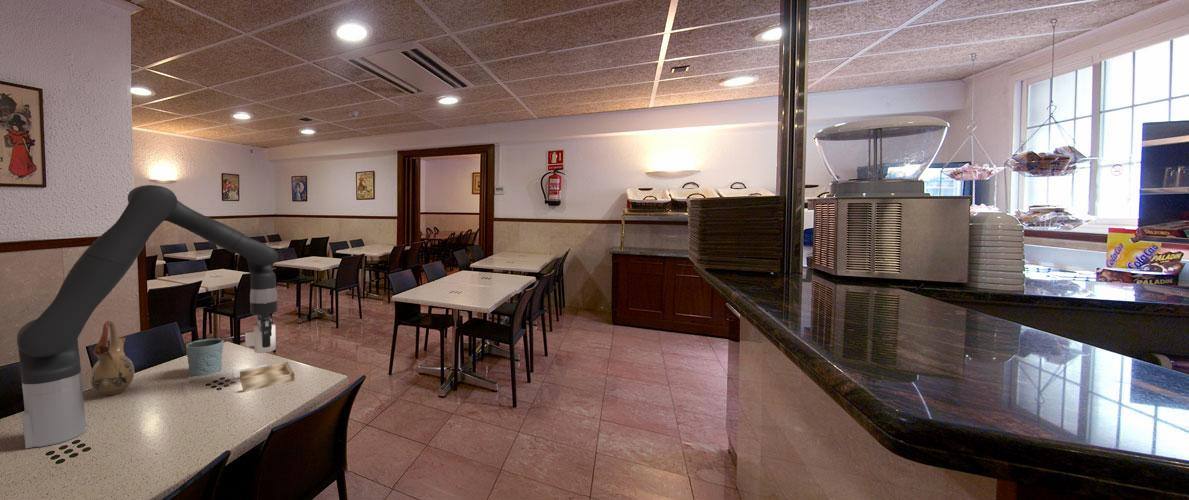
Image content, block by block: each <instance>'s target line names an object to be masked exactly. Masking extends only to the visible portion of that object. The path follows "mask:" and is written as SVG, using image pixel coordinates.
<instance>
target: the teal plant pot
mask: <svg viewBox="0 0 1189 500" xmlns="http://www.w3.org/2000/svg"><path fill="white" fill-rule="evenodd" d="M223 349H224V339H222V338H207V339H198V340H194V341H191V342H189V343H187V344H185V350H186V357H187V364H188V373H189V376H190V377H191V378H192V377H193V378H194V377H203V376H208V375H212V374H216V373H219V372H221V371H222V366H223V362H222V359H223Z"/></svg>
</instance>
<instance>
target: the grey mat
mask: <svg viewBox="0 0 1189 500" xmlns="http://www.w3.org/2000/svg"><path fill="white" fill-rule="evenodd" d="M266 366H268V364H267V363H266V364H262V365H257V366H251V367H248V368H246V367H245V368H242V369H236V370H232V375H233V379H234V381H236V380H240V372H241V371H246V370H251V369H256V368H261V367H266Z"/></svg>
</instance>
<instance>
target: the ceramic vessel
mask: <svg viewBox="0 0 1189 500" xmlns="http://www.w3.org/2000/svg"><path fill="white" fill-rule="evenodd" d="M102 326H103V327H102V334H101V336H100V339H99V340H98V343H97V344H96V345H95V347H94V349H93V351H92V353H93V355H95V356H96V357H97V358H98V361H96V362H95V364H94V365H93V367H92V369H91V371H90V374H89V379H90V384H91V387H92V388H93V390H94V391H96V392H97V393H99V394H100V395H102V396H114V395H118V394H121V393H122V392H124V391H125V390H126V389H127V388H128V387H129V386H130V385H131V383H132V382H133V379H134V376H135V366H134V363H133V362H132V360H131V359H130V358H129V357H127V356H126V353H125V352H124V351H125V350H124V345H125V341H126V337H119V335H118V333H117V329H116V326H115V323H114V322H113V321H112V320H106V321H105V322H104V324H103V325H102Z"/></svg>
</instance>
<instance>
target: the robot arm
mask: <svg viewBox="0 0 1189 500" xmlns="http://www.w3.org/2000/svg"><path fill="white" fill-rule="evenodd" d="M164 221H166V222H168V223H172V224H174V225H175V226H178V227H180V228H183V229H185V230H187V231H189V232H191V233H193V234H195V235H197V236H199V237H200V238H202V239H204V240H206V241H208V242H210V243H212V244H214V245H215V246H218V247H220V248H221V249H224V250H226V251H228V252H231V253H233V254H236V255H240V256H242V257H243V258H245V259H246V261H247V262H246V263H247V266H248V271H249V274H250V293H249V306H250V307H249V308H250V310H249V311H250V314H251V315H253V316H257V317H256V322H257V326H259V331H260V332H261V334H262V336H261V337H262V347H263V348H265V347H270V337H271V335H272V334H271V330H272V324H273V317H272V316H271V314H275V313H277V312H278V306H279V305H278V292H277V278H276V273H275V272H274V271H273V264H275V263H276V262H277V261H278V259H279V254H278V252H277V250H276V249H274V248H273V247H271V246H269V245H267V244H265V243H264V242H263V243H262V242H260V241H259V240H256V239H254V238H251V237H249V236H248V235H246V234H244V233H242V231H241V232H240V231H238V230H237V229H235V228H233V227H231V226H229V225H227V224H225V223H223V222H220V221H218V220H216V219H213V218H211V217H209V216H206V215H205V214H202V213H200V212H198V211H195V210H194V209H192V208H190V207H189V206H187V205H186V204H184V203H182V202H181V201H179V200H178V198H177V196H176V194H175V193H174V192H173V191H172V190H171V189H169V188H167V187H165V186H160V185H155V184H146V185H140V186H137V187H134V188H133V189H131V190H130V191H129V193H128V194H127V206H126V207H125V209H124V210H123V212H122V213H121V215H120V216H119V218H118V219H117V221H116V222H115V223H114V224H113V225H111V227H110V228H108V229H107V230H106V231H105V232H103V233H102V234H101V235H100V236H98V238H96V239H95V240H94V241H93V242H92V243H91V244H90V245H89V246H88V247H87V248H86V249H85V250H84V252H83V253H82V254H81V256H79V258H78V259H77V261H76V262H75V263H74V264H73V266H72V267H71V269H70V270H69V271H68V273H67V275H66V277H65V279H64V280H63V282H62V284H61V286H60V288H59V290H58V292H57V295H56V296H55V297H54V299H53V301H51V303H50V305H48V307H47V308H46V309H45V310H44V311H43V312H42V313H41V315H39V316H38V317H37V318H36V319H34V320H30V321H29V322H27V323H25V324H24V325H23V326H22V327H21V328H20V329H19V330H18V333H17V336H16V345H17V348H18V358H19V369H20V370H19V371H20V378H21V388H22V395H23V406H24V411H23V413H22V414H21V417H22V419H21V420H22V427H23V437H24V446H25V449H29V448H30V449H31V448H38V447H39V448H42V447H46V446H51V445H52V446H53V445H56V444H60V443H63V442H66V441H69V440H72V439H75V438H77V437H80V436H81V435H82V434H84V433H85V432H86V431H87V421H86V420H87V419H86V412H85V411H86V410H85V399H84V390H83V389H84V388H83V377H82V366H81V358H80V352H79V351H80V349H79V341H78V338H79V337H80V335H81V333H82V331H83V329H84V328H85V325H87V322H88V320H89V319H90V317H91V315H92V314H93V312H94V311H95V310H96V308H97V307H99V305H100V304H101V303H102V302H103V300H105V299H106V298H107V296H108V295H109V294H110V293H111V292H112V291H113V289H114V288H115V287H116V286H117V285H118V284H119V282H120V281H121V280H122V279H123V278H124V276H126V274H127V272H128V271H129V270H130V269H131V267H132V266H133V264H134V263H135V261H136V260H137V258H138V257H139V255H140V254H141V252H142V251H143V249H144V247H145V245H146V244H147V242H148V240H149V239H150V237H151V236H152V234H153V233H154V232H155V231H156V229H158V227H159V226H160V225H161V224H162V223H163V222H164ZM264 331H269V333H266V334H264Z"/></svg>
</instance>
